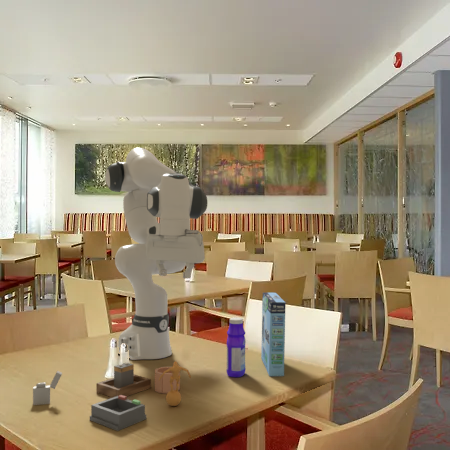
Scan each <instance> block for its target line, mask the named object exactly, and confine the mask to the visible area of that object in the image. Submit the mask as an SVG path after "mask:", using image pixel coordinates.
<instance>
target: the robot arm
mask: <svg viewBox="0 0 450 450" xmlns="http://www.w3.org/2000/svg"><path fill="white" fill-rule="evenodd" d="M105 170H106V172H105V177H104V179H105V180H104V181H105V183H106V186H107V188H108V190H110V191H111V192H114V193H120V192H125V193H126V194H125V195H124V196H123V205H122V206H123V207H122V208H123V214H124V220H125V223H126V227H127V230H128V235H129V237H130V238H131V239H132V240H133V241H134V242H135V243H131V244H125V245H122V246H120V247H119V248H118V250H117V251H116V253H115V256H114V264H115V267H116V269H117V271H118V273H120V274H121V275H123V277H126V279H127V280H128V281H129V283H130V284H131V286H132V289H133V291H134V292H133V293H134V300H135V314H134V315H133V314H132V315H130V317H129V318H130V320H132V323H131V324H130V325H129V326H128V327H127V328H126V329H124V330H123V331H122V332H121V333H120V334H119V336H118V340H117V341H118V342H117V346H118V347H119V352H120V345H121V344H122V343H126V344H127V345H128V350H129V357H130V359H129V360H133V361H135V360H136V361H137V360H158V359H159V360H160V359H164V358H167V357H170V356H171V355H172V354H173V352H172V346H171V341H170V333H169V322H170V321H169V320H170V316H169V315H170V314H169V313H168V293H167V290H166V289H165V288H164V287H162V286H161V285H159V284H157V283H155V282H154V280H153V276H154V275H159V276H160V277H165V276H168V274H169V275H170V274H174V273H177V272H181V271H182V278H183V279H191V278H192V277H191V276H192V271H193V269H194V267H195V264H201V263H203V262H204V261H205V255H206V254H205V244H204V241H203V240H204V235H203V233H202V232H200V231H199V230H198V229H194V230H193V229H191V219H192V220H193V219H194V220H198V219H199V218H200V217H201V216H202V215H203V214H204V213H205V212H206V211H207V208H208V197H207V194H206V193H205V191H204V190H203V189H202V188H201V187H200V186H195V185H194V184H193V183H191V182H190V181H189V178H188V176H187V175H185V174H182V173H180V172H177V171H176V170H174V169H172V168H170V167H168V166H167V165H165V164H164V163H163V162H161V161H160V160H159V159H158V158H157V157H156V156H155V154H154V153H152V152H151V151H150V150H148V149H146V148H145V147H135V148H132V149H131V150H130V151H128V153H127V155H126V159H125V161H123V162H120V161H116V162H114V163H112V164H110V165H108V167H107V168H106V169H105ZM157 218H159V222H158V219H157ZM185 267H186V269H185V270H184V268H185ZM183 270H184V271H183Z"/></svg>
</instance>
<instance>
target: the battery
mask: <svg viewBox="0 0 450 450" xmlns="http://www.w3.org/2000/svg"><path fill="white" fill-rule="evenodd" d="M134 367H135V365H134V363H130V362H128V361H127V362H123V363H120V364H116V365H114V366H113V378H114V387H116V388H121V387H124V386H127V385H130V384H133V383H134V372H135V371H134Z"/></svg>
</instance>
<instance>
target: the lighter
mask: <svg viewBox="0 0 450 450" xmlns="http://www.w3.org/2000/svg"><path fill="white" fill-rule="evenodd" d="M62 375H63V372H62V371H59V370H57V371H56V372H55V374H54V377H53V379H52V381H51V383H50V384H49V385H46V384H47V383H46V382H38V383H36V384H35V386H33V387H32V405H33V406H38V405H40V406H41V405H49V404H51V389H54V390H55V389H56V387H57V385H58V383H59V382H60V379H61V377H62Z"/></svg>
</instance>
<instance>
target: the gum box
mask: <svg viewBox="0 0 450 450" xmlns="http://www.w3.org/2000/svg"><path fill="white" fill-rule="evenodd" d="M261 299H262V307H261V310H262V311H261V353H260V355H261V358H260V359H261V361H262V362H263V363H262V364H264V367H265V369H266V373H267V374H268V376H269V378H271V377H275V378H276V377H278V378H279V377H285V345H286V342H285V341H286V338H285V337H286V304H287V303H286V301H284V299H283V298H281V296H280V295H279V294H278V293H277V292H262V298H261Z"/></svg>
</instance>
